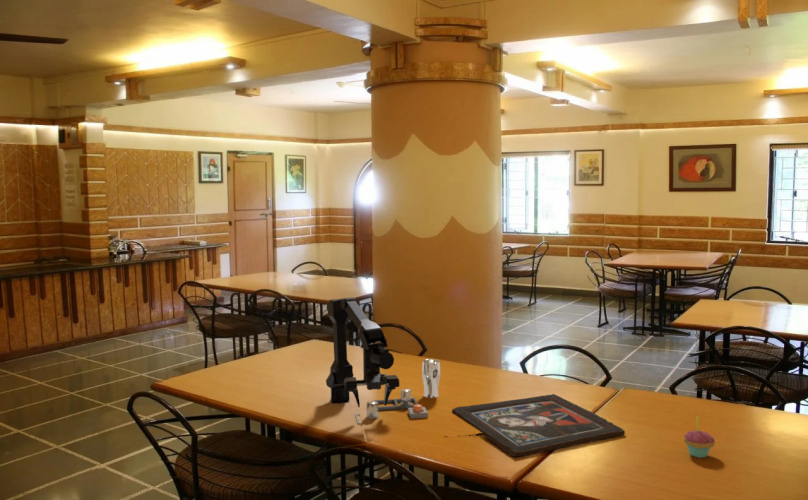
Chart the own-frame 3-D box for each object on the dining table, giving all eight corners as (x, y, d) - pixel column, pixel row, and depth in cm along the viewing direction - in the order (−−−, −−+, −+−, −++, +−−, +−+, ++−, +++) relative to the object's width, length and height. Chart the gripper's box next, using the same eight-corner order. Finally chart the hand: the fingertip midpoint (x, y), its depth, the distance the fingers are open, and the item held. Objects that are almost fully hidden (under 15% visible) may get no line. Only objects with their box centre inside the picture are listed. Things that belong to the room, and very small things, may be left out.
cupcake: (677, 449, 196) (679, 411, 195) (704, 448, 197) (705, 410, 196) (692, 461, 187) (694, 421, 186) (720, 459, 188) (721, 420, 187)
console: (411, 422, 220) (411, 413, 220) (408, 416, 226) (408, 407, 226) (428, 421, 221) (427, 412, 221) (424, 415, 227) (424, 406, 227)
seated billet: (401, 408, 231) (401, 392, 231) (399, 404, 235) (399, 389, 235) (412, 407, 232) (412, 391, 232) (410, 404, 236) (410, 388, 235)
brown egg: (414, 418, 222) (414, 407, 221) (412, 415, 225) (412, 404, 224) (422, 418, 222) (422, 407, 222) (421, 415, 225) (421, 404, 225)
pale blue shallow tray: (357, 427, 216) (357, 423, 216) (355, 417, 225) (355, 414, 225) (390, 424, 218) (390, 421, 218) (386, 415, 227) (386, 412, 227)
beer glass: (438, 402, 240) (438, 363, 239) (420, 401, 242) (420, 363, 240) (441, 396, 247) (441, 359, 246) (423, 395, 249) (423, 358, 247)
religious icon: (448, 416, 226) (448, 407, 226) (552, 400, 244) (552, 392, 244) (510, 460, 190) (510, 451, 189) (627, 438, 207) (627, 429, 207)
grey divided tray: (376, 414, 228) (376, 407, 228) (374, 407, 236) (374, 400, 236) (418, 411, 231) (418, 405, 230) (414, 404, 238) (414, 397, 238)
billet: (367, 422, 219) (367, 405, 219) (366, 418, 223) (365, 401, 223) (378, 421, 220) (378, 404, 220) (377, 417, 224) (377, 400, 223)
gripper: (346, 370, 210) (347, 416, 212) (401, 367, 213) (402, 412, 215) (344, 361, 221) (344, 405, 223) (396, 358, 224) (397, 401, 226)
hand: (372, 406), depth 221 cm, fingers open, 9 cm apart
